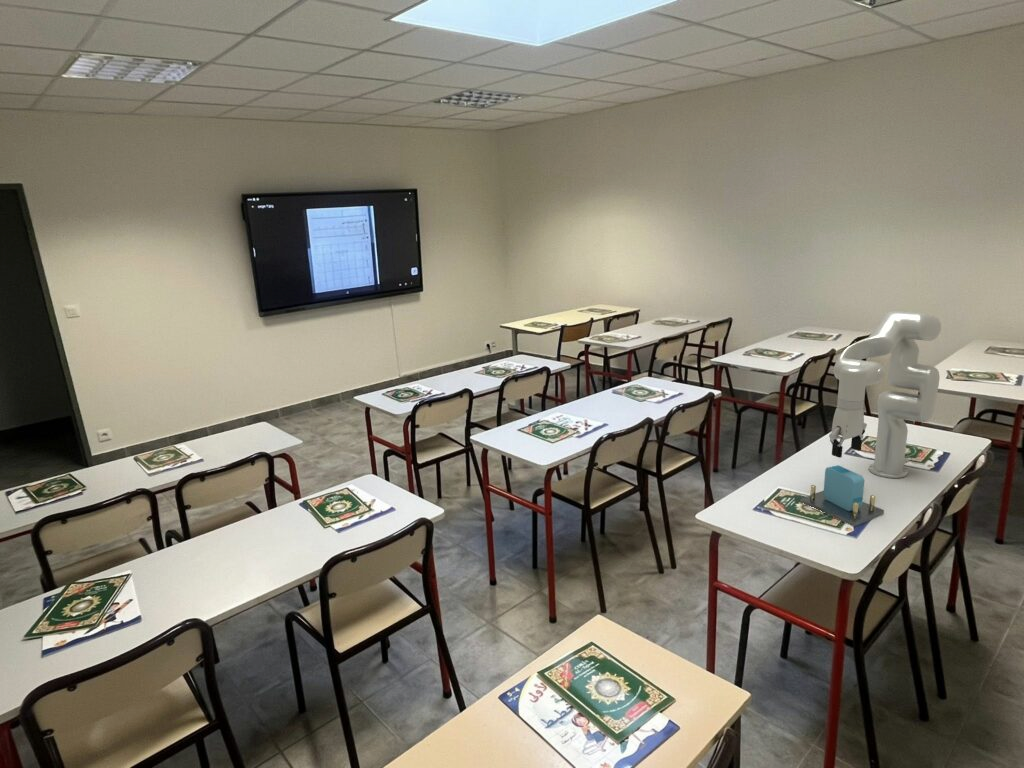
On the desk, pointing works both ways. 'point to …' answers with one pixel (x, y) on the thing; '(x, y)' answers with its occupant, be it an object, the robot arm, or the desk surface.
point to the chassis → (846, 516)
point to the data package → (843, 487)
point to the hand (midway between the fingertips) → (846, 452)
